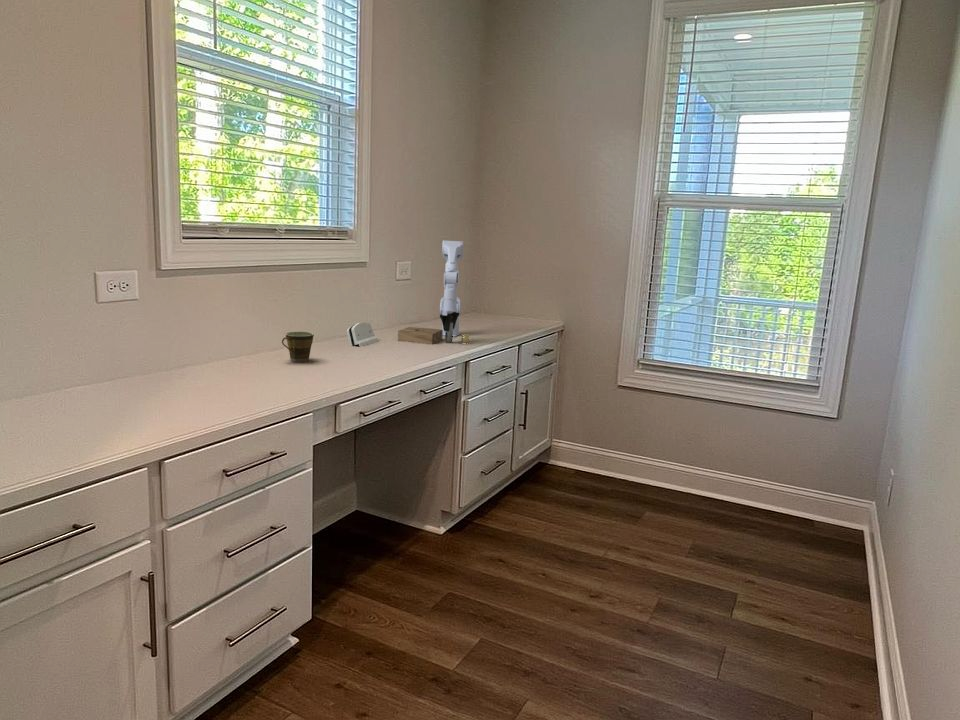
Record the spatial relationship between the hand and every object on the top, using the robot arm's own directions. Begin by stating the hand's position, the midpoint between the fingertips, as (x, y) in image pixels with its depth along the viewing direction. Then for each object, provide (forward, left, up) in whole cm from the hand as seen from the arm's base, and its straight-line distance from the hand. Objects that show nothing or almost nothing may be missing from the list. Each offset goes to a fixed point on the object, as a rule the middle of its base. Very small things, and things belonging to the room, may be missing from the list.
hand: (449, 329), depth 306 cm
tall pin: (0, 0, -6) cm, 6 cm away
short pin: (-2, +7, -6) cm, 9 cm away
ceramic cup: (+66, -37, -6) cm, 76 cm away
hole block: (+1, -13, -6) cm, 14 cm away
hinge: (+21, -32, -6) cm, 39 cm away
